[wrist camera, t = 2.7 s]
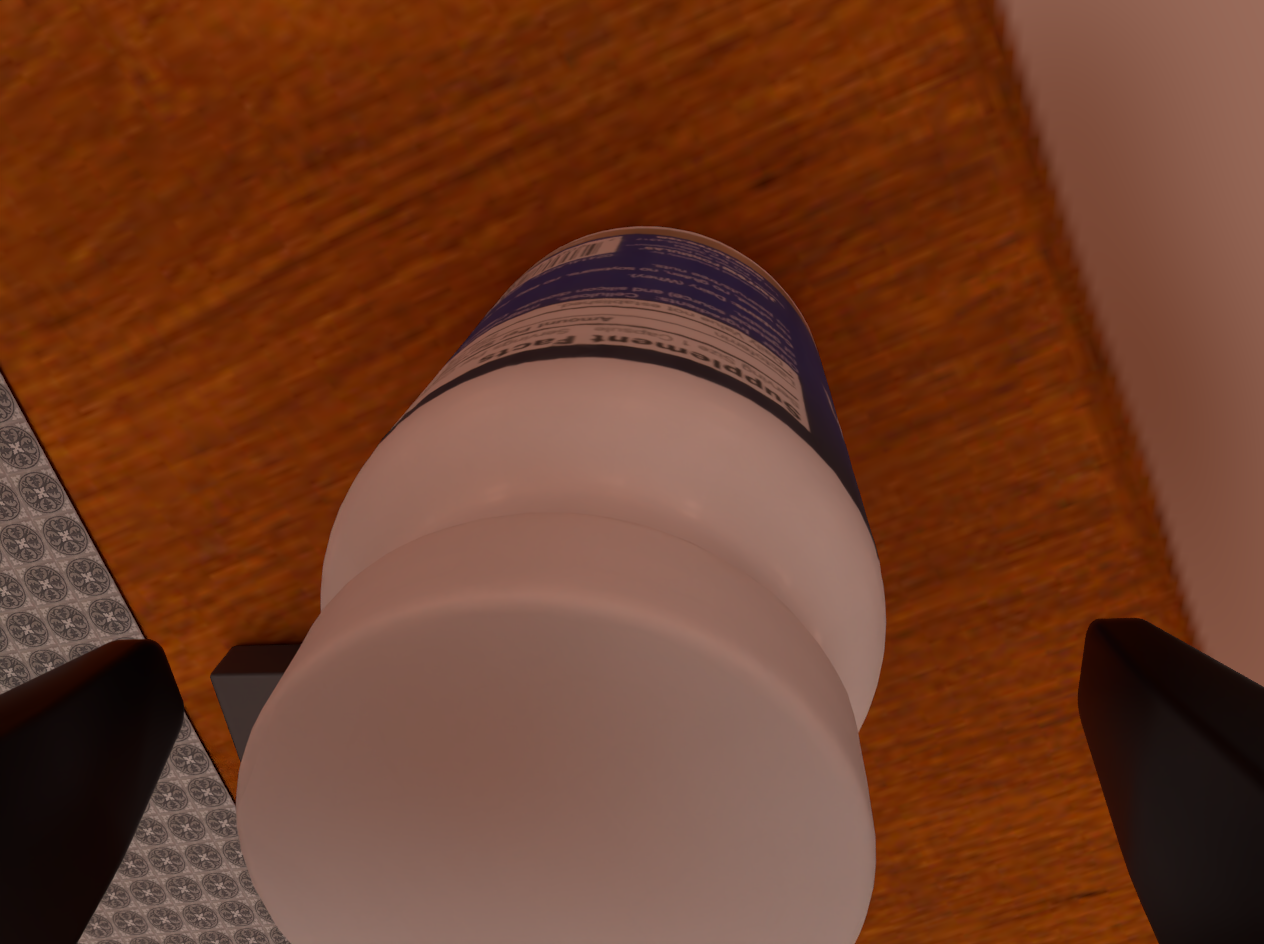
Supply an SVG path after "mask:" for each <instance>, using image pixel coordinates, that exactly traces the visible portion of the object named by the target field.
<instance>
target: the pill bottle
mask: <svg viewBox="0 0 1264 944" xmlns="http://www.w3.org/2000/svg"><path fill="white" fill-rule="evenodd" d="M885 632H886V609H885V596H884V586H883V581H882V577H881V569H880V561H879V557H878V553H877V550H876V546H875V542H874V539H873V536H872V533H871V530H870V527H869V523H868V520H867V517H866V513H865V510H864V506H863V503H862V499H861V496H860V492H859V489H858V486H857V483H856V479H855V476H854V473H853V470H852V466H851V462H850V458H849V455H848V451H847V448H846V445H845V442H844V438H843V434H842V430H841V428H840V425H839V422H838V418H837V415H836V411H835V408H834V404H833V401H832V397H831V393H830V390H829V386H828V383H827V380H826V377H825V374H824V370H823V367H822V363H821V360H820V356H819V353H818V350H817V347H816V344H815V342H814V339H813V336H812V334H811V331H810V329H809V327H808V325H807V323H806V321H805V319H804V317H803V315H802V314H801V312H800V310H799V309H798V307H797V306H796V305H795V303H794V302H793V300H792V299H791V298H790V296H789V295H788V294H787V293H786V292H785V290H784V289H783V288H782V287H781V286H780V285H779V284H778V282H777V281H776V280H775V279H774V278H773V277H772V276H771V275H770V274H768V273H767V272H766V271H765V270H764V269H763V268H761V267H760V266H759V265H758V264H756V263H755V262H754V261H752V260H751V259H749V258H748V257H746V256H745V255H743V254H741V253H740V252H738V251H736V250H735V249H733V248H731V247H729V246H727V245H725V244H723V243H721V242H719V241H717V240H714V239H711V238H709V237H706V236H704V235H701V234H697V233H694V232H689V231H685V230H680V229H674V228H667V227H658V226H635V227H624V228H616V229H610V230H605V231H601V232H597V233H594V234H590V235H587V236H584V237H582V238H579V239H577V240H574V241H572V242H570V243H568V244H566V245H564V246H561V247H560V248H558V249H556V250H555V251H553V252H551V253H550V254H548V255H547V256H545V257H544V258H542V259H541V260H540V261H538V262H537V263H536V264H535V265H533V266H532V267H531V268H530V269H529V270H527V271H526V272H525V273H524V274H523V275H522V276H521V277H520V278H519V279H517V280H516V281H515V282H514V283H513V284H512V285H511V287H510V288H509V289H508V290H507V291H506V292H505V293H504V294H503V296H502V297H501V298H500V299H499V301H498V302H497V303H496V304H495V305H494V306H493V307H492V308H491V309H490V310H489V312H488V313H487V314H486V315H485V317H484V318H483V320H482V321H481V322H480V323H479V324H478V326H477V327H476V328H475V329H474V331H473V332H472V333H471V334H470V336H469V337H468V338H467V339H466V341H465V342H464V343H463V344H462V345H461V347H460V348H459V349H458V350H457V352H456V353H455V354H454V355H453V356H452V357H451V358H450V360H449V361H448V362H447V363H446V365H445V366H444V367H443V368H442V369H441V370H440V372H439V373H438V374H437V375H436V377H435V378H434V379H433V380H432V382H431V383H430V384H429V385H428V386H427V387H426V388H425V390H424V391H423V392H422V393H421V394H420V396H419V397H418V398H417V399H416V401H415V402H414V403H413V404H412V405H411V406H410V407H409V409H408V410H407V411H406V412H405V413H404V414H403V416H402V417H401V418H400V419H399V420H398V421H397V423H396V424H395V425H394V426H393V427H392V428H391V430H390V431H389V432H388V433H387V434H386V435H385V437H384V438H383V439H382V440H381V442H380V443H379V445H378V446H377V448H376V449H375V450H374V452H373V453H372V455H371V456H370V457H369V459H368V460H367V461H366V463H365V464H364V466H363V467H362V468H361V470H360V472H359V473H358V475H357V477H356V478H355V480H354V482H353V484H352V485H351V487H350V489H349V491H348V493H347V495H346V497H345V499H344V501H343V503H342V505H341V507H340V509H339V512H338V514H337V517H336V520H335V522H334V525H333V527H332V530H331V534H330V538H329V542H328V546H327V550H326V554H325V559H324V564H323V571H322V584H321V614H320V615H319V616H318V618H317V619H316V621H315V622H314V623H313V625H312V627H311V628H310V630H309V632H308V634H307V636H306V637H305V639H304V641H303V643H302V644H301V646H300V648H299V650H298V651H297V653H296V655H295V656H294V658H293V660H292V661H291V663H290V665H289V666H288V668H287V669H286V671H285V673H284V674H283V676H282V678H281V679H280V681H279V682H278V684H277V686H276V687H275V689H274V691H273V692H272V694H271V695H270V697H269V699H268V700H267V702H266V704H265V705H264V707H263V708H262V710H261V712H260V714H259V716H258V718H257V720H256V722H255V724H254V726H253V728H252V730H251V733H250V736H249V739H248V742H247V745H246V748H245V751H244V754H243V758H242V761H241V765H240V769H239V775H238V785H237V795H236V818H237V830H238V835H239V841H240V846H241V851H242V854H243V857H244V860H245V863H246V866H247V869H248V872H249V875H250V878H251V881H252V884H253V886H254V888H255V890H256V891H257V893H258V895H259V896H260V898H261V900H262V902H263V903H264V905H265V907H266V909H267V910H268V912H269V914H270V916H271V917H272V919H273V921H274V923H275V924H276V926H277V927H278V929H279V930H280V931H281V933H282V934H283V935H284V936H285V937H286V938H287V939H288V941H289V942H290V943H291V944H855V942H856V940H857V938H858V936H859V934H860V931H861V929H862V926H863V923H864V921H865V918H866V915H867V911H868V907H869V903H870V899H871V895H872V891H873V887H874V878H875V868H876V841H875V830H874V824H873V817H872V810H871V804H870V797H869V791H868V784H867V778H866V773H865V768H864V763H863V757H862V752H861V747H860V742H859V735H858V732H859V730H860V728H861V726H862V724H863V722H864V720H865V718H866V716H867V713H868V711H869V708H870V705H871V703H872V700H873V697H874V693H875V690H876V687H877V684H878V680H879V675H880V670H881V666H882V661H883V655H884V648H885Z"/></svg>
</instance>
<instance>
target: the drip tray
mask: <svg viewBox="0 0 1264 944" xmlns="http://www.w3.org/2000/svg"><path fill="white" fill-rule="evenodd" d="M300 646H301V644H296V645H249V646H234V647H232V648H231V649H230V651H229V652H228V653H227V654H226V656H225V657H224V658H223V659H222V661H221V662H220V663H219V664H218V666H217V667H216V668H215V669H214V671H213V672H212V673H211V675H210V678H211V681H212V684H213V686H214V689H215V692H216V695H217V698H218V700H219V703H220V706H221V709H222V711H223V714H224V717H225V720H226V723H227V725H228V728H229V731H230V734H231V737H232V739H233V742H234V745H235V748H236V750H237V753H238V756H239V759H240V762H241V761H242V758H243V754H244V751H245V748H246V745H247V742H248V739H249V736H250V733H251V730H252V728H253V726H254V724H255V722H256V720H257V718H258V716H259V714H260V712H261V710H262V708H263V707H264V705H265V704H266V702H267V700H268V699H269V697H270V695H271V694H272V692H273V691H274V689H275V687H276V686H277V684H278V682H279V681H280V679H281V678H282V676H283V674H284V673H285V671H286V669H287V668H288V666H289V665H290V663H291V661H292V660H293V658H294V656H295V655H296V653H297V651H298V650H299V648H300Z"/></svg>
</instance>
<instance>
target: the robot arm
mask: <svg viewBox="0 0 1264 944" xmlns="http://www.w3.org/2000/svg"><path fill="white" fill-rule="evenodd" d="M1078 708H1079V714H1080V719H1081V723H1082V726H1083V729H1084V732H1085V735H1086V739H1087V742H1088V745H1089V748H1090V752H1091V755H1092V758H1093V761H1094V764H1095V768H1096V771H1097V774H1098V777H1099V781H1100V784H1101V787H1102V790H1103V793H1104V797H1105V800H1106V803H1107V806H1108V810H1109V813H1110V816H1111V819H1112V822H1113V826H1114V829H1115V832H1116V835H1117V839H1118V842H1119V845H1120V848H1121V851H1122V854H1123V857H1124V860H1125V863H1126V866H1127V869H1128V872H1129V875H1130V877H1131V880H1132V882H1133V885H1134V887H1135V890H1136V892H1137V894H1138V897H1139V899H1140V902H1141V904H1142V906H1143V909H1144V911H1145V913H1146V915H1147V918H1148V920H1149V922H1150V924H1151V927H1152V929H1153V931H1154V933H1155V936H1156V938H1157V940H1158V943H1159V944H1264V687H1263V686H1261V685H1259V684H1258V683H1256V682H1254V681H1252V680H1250V679H1248V678H1247V677H1245V676H1243V675H1242V674H1240V673H1238V672H1236V671H1234V670H1233V669H1231V668H1229V667H1227V666H1225V665H1224V664H1222V663H1220V662H1218V661H1217V660H1215V659H1213V658H1211V657H1210V656H1208V655H1206V654H1204V653H1202V652H1201V651H1199V650H1197V649H1195V648H1194V647H1192V646H1190V645H1188V644H1186V643H1185V642H1183V641H1181V640H1179V639H1178V638H1176V637H1174V636H1172V635H1170V634H1169V633H1167V632H1165V631H1163V630H1162V629H1160V628H1158V627H1156V626H1154V625H1153V624H1151V623H1149V622H1147V621H1145V620H1143V619H1139V618H1113V619H1096V620H1095V621H1093V622H1092V623H1091V624H1090V625H1089V628H1088V630H1087V633H1086V638H1085V645H1084V652H1083V660H1082V667H1081V674H1080V681H1079V688H1078ZM183 720H184V703H183V700H182V697H181V694H180V692H179V689H178V687H177V684H176V681H175V679H174V676H173V673H172V671H171V668H170V665H169V663H168V660H167V658H166V655H165V652H164V650H163V648H162V647H161V646H160V645H159V644H158V643H157V642H155V641H153V640H151V639H127V640H115V641H111V642H108V643H106V644H104V645H102V646H100V647H98V648H96V649H94V650H92V651H90V652H88V653H85V654H83V655H81V656H79V657H77V658H75V659H73V660H71V661H69V662H67V663H65V664H63V665H61V666H58V667H56V668H54V669H52V670H50V671H48V672H46V673H44V674H42V675H40V676H38V677H36V678H33V679H31V680H29V681H27V682H25V683H23V684H21V685H19V686H17V687H15V688H13V689H11V690H9V691H6V692H4V693H2V694H0V944H77V943H78V941H79V939H80V938H81V936H82V934H83V932H84V930H85V929H86V927H87V925H88V923H89V921H90V920H91V918H92V916H93V914H94V912H95V911H96V909H97V907H98V905H99V903H100V902H101V900H102V898H103V896H104V895H105V893H106V891H107V889H108V887H109V886H110V884H111V882H112V880H113V878H114V876H115V874H116V872H117V870H118V869H119V867H120V865H121V863H122V861H123V859H124V856H125V854H126V852H127V850H128V848H129V846H130V844H131V842H132V839H133V837H134V835H135V833H136V830H137V828H138V826H139V824H140V821H141V819H142V817H143V814H144V812H145V810H146V808H147V805H148V803H149V801H150V799H151V796H152V794H153V792H154V790H155V787H156V785H157V783H158V780H159V778H160V776H161V774H162V771H163V769H164V767H165V765H166V762H167V760H168V758H169V755H170V753H171V751H172V749H173V746H174V744H175V742H176V740H177V737H178V735H179V733H180V731H181V728H182V725H183Z"/></svg>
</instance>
